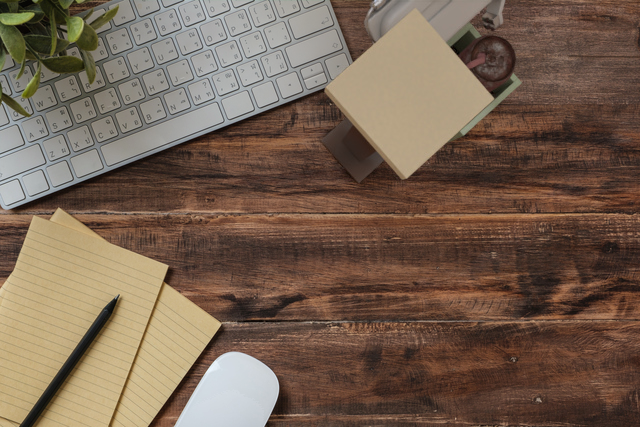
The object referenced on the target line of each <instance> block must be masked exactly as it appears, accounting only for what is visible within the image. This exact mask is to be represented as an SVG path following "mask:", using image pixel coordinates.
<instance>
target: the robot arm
mask: <svg viewBox="0 0 640 427" xmlns="http://www.w3.org/2000/svg"><path fill="white" fill-rule="evenodd" d="M505 4H506V0H371V2H370V3H369V9H368V10H367V12H366V16H365V19H364V21H363V22H364V23H363V24H364V28H365V30H366V32H367V35H368V37H369V38H370V40H371V42H372V45H373V44H375V43H376V42H377V41H378V40H379V39H380V38H381V37H382V36H384V35H385V34H386V33H387V32H388V31H389V30H390V29H392V28H393V27H394V26H395V25H396V24H397V23H398V22H399V21H401V20H402V19H403V18H404V17H405V16H406V15H407V14H409V13H410V12H411V11H412V10H413V9H414V8H416V9H417V10H418V11H419V12H420V13H421V14H422V16H423V17H424V18H425V19H426V20H427V21H428V22H429V24H430V25H431V26H432V27H433V28H434V29H435V31H436V32H437V33H438V34H439V35H440V36H441V38H442V39H443V40H444V41H445V42H447V41H448V40H450V39H451V38H452V37H453V36H454V35H455V34H456V33H457V32H458V31H460V30H461V29H462V28H463V27H464V26H465V25H466V24H467V23H469V22H470V21H472V20H473V19H474V18H475V17H476V16H477V15H478V14H480V12H481V11H483V10H484V9H485V8H486V10H485V13H483V14H482V16H481V21H482V22H483V23H482V24H483V27H484V29H485V30H487V31H488V30H489V31H491V32H495V31H496V30H497V29H498V28H499V27H500V26H502V25H503V24H504V16H503V11H504V7H505Z"/></svg>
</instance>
